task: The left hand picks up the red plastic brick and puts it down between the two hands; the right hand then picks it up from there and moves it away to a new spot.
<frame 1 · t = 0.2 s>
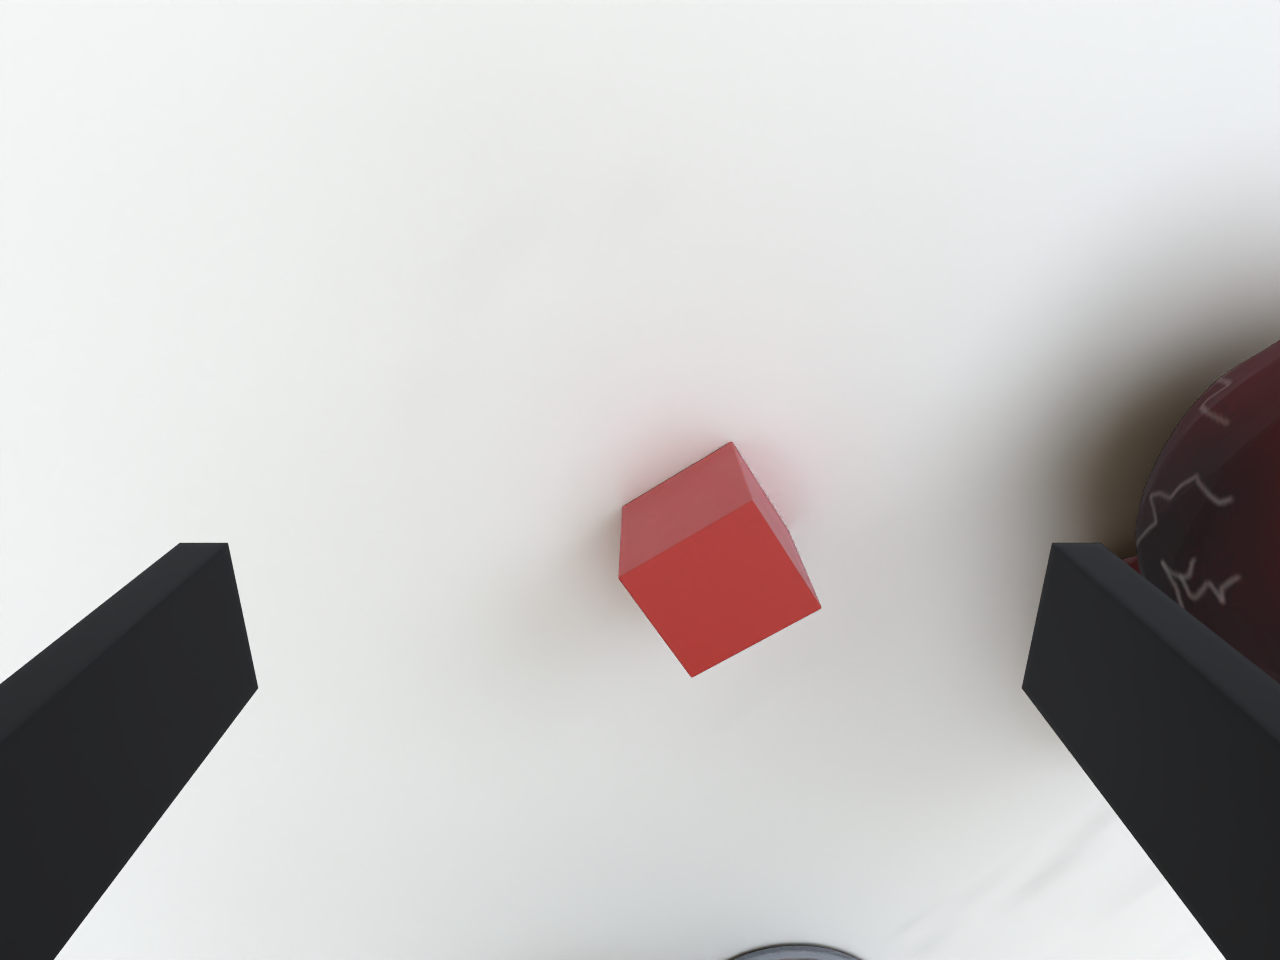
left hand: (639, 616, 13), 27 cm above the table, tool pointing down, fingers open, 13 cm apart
brick: (706, 519, 42), on the table
dark red rounded piece: (1215, 503, 42), on the table
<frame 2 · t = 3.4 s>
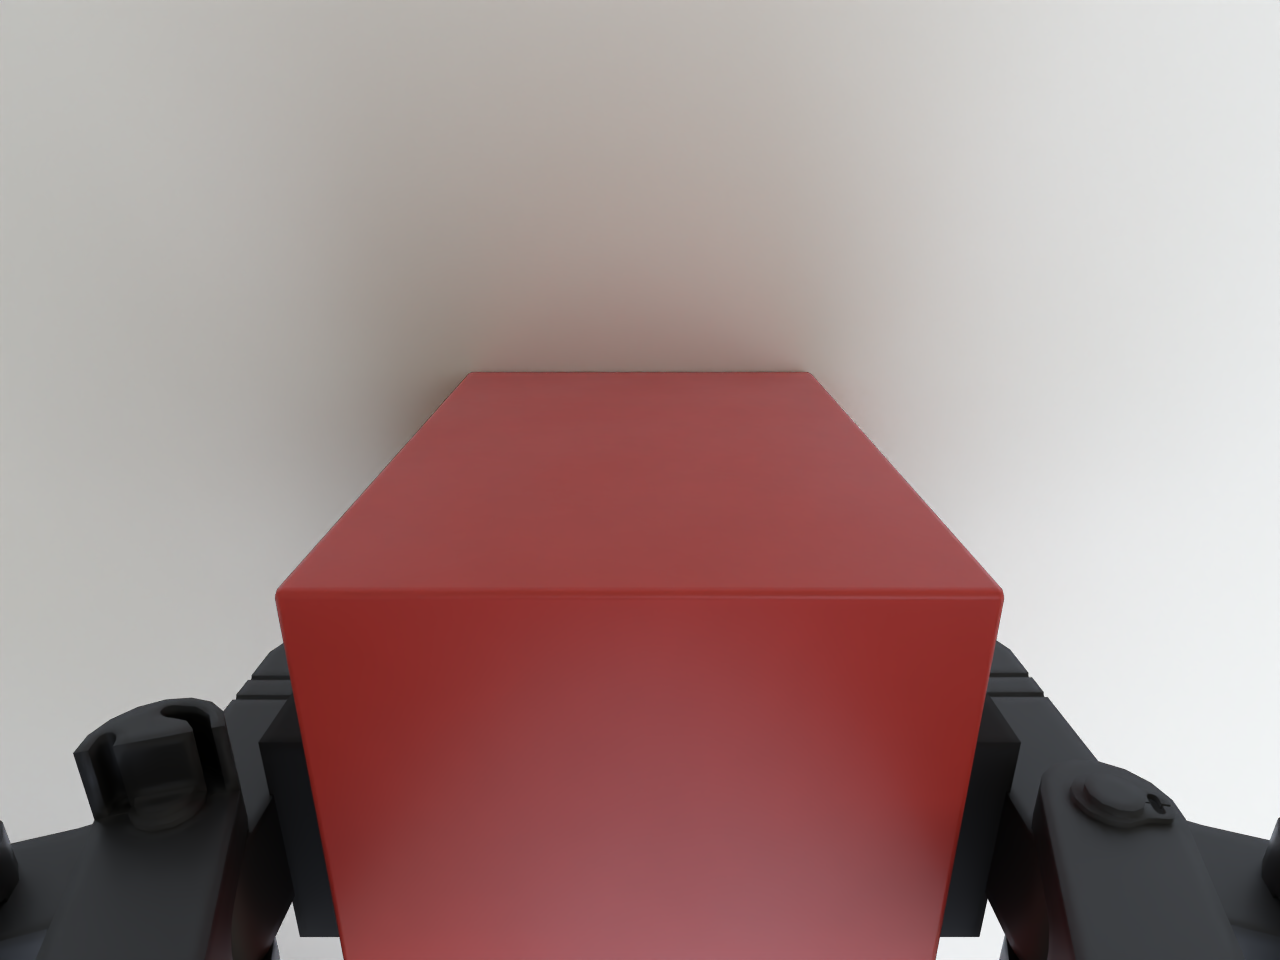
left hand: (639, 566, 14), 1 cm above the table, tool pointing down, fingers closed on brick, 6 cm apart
brick: (639, 542, 15), on the table, touching left hand
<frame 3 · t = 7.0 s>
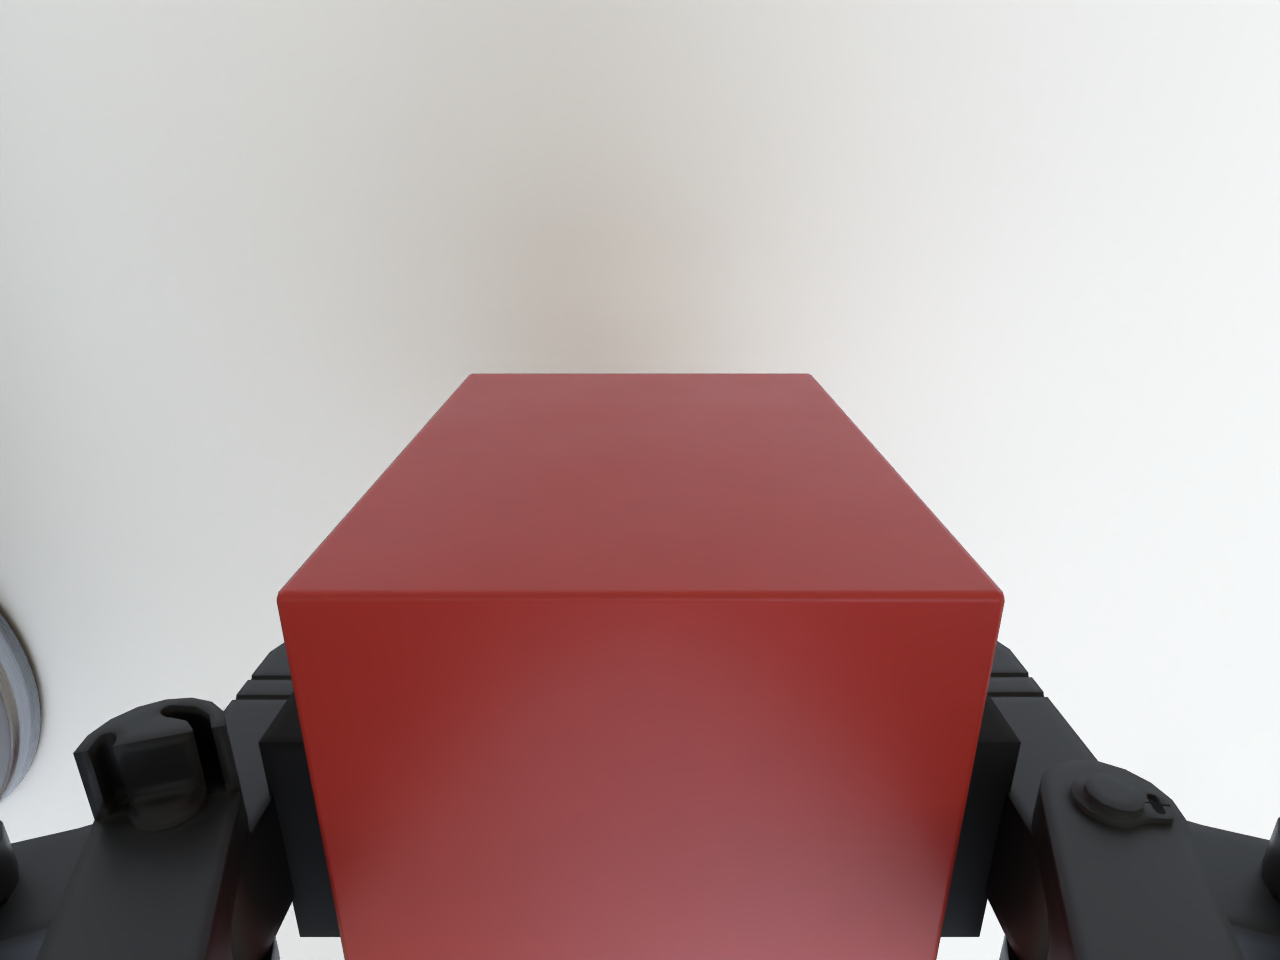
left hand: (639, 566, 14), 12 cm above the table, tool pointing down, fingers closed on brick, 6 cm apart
brick: (640, 543, 15), point 11 cm above the table, touching left hand
when the left hand's fingers open (2 cm above the table, at t = 10.5 s): brick drops 1 cm, on the table.
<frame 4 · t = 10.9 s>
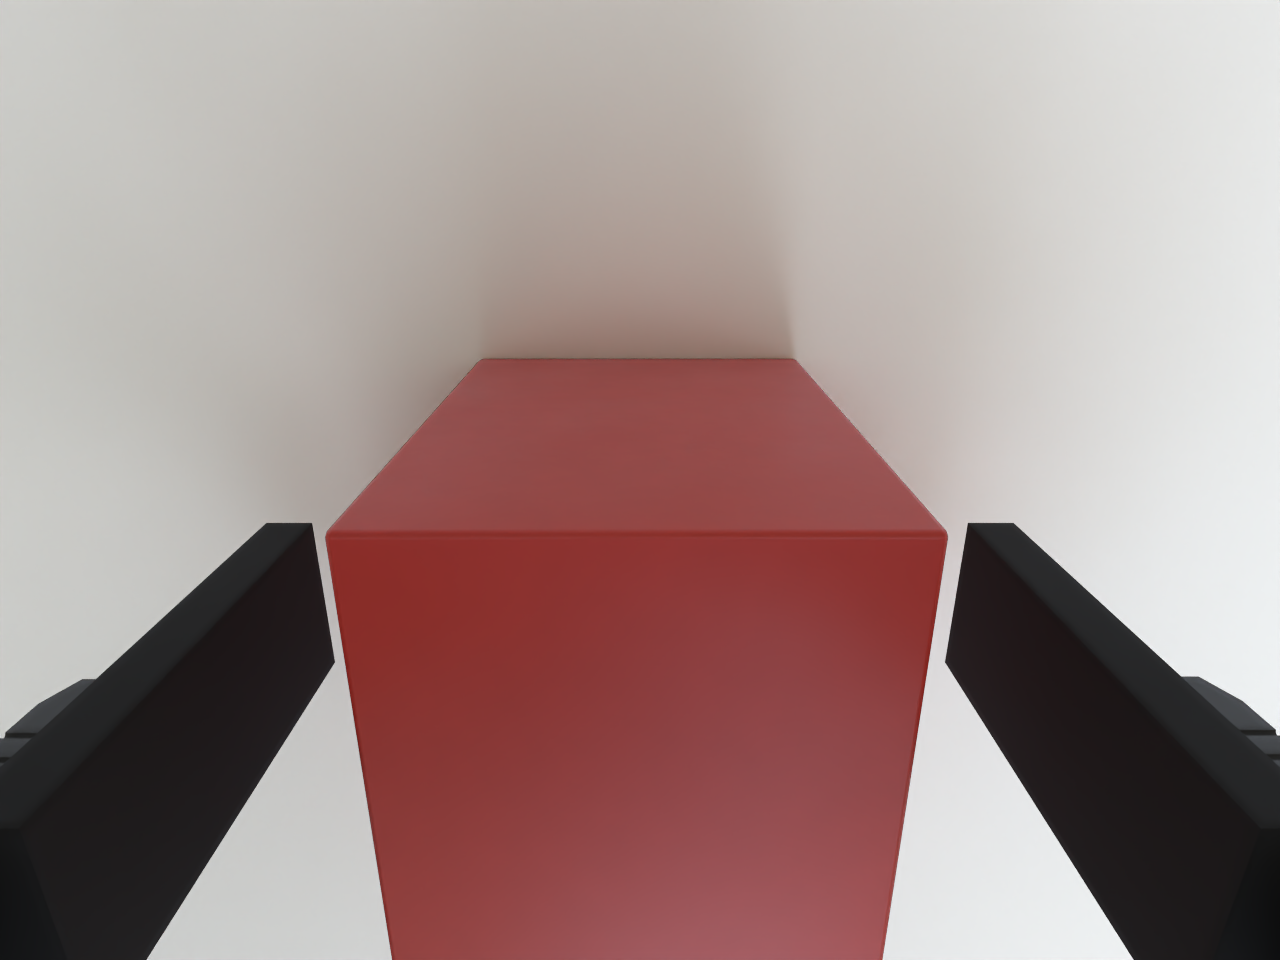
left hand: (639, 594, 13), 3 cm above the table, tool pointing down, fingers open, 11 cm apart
brick: (638, 518, 16), on the table
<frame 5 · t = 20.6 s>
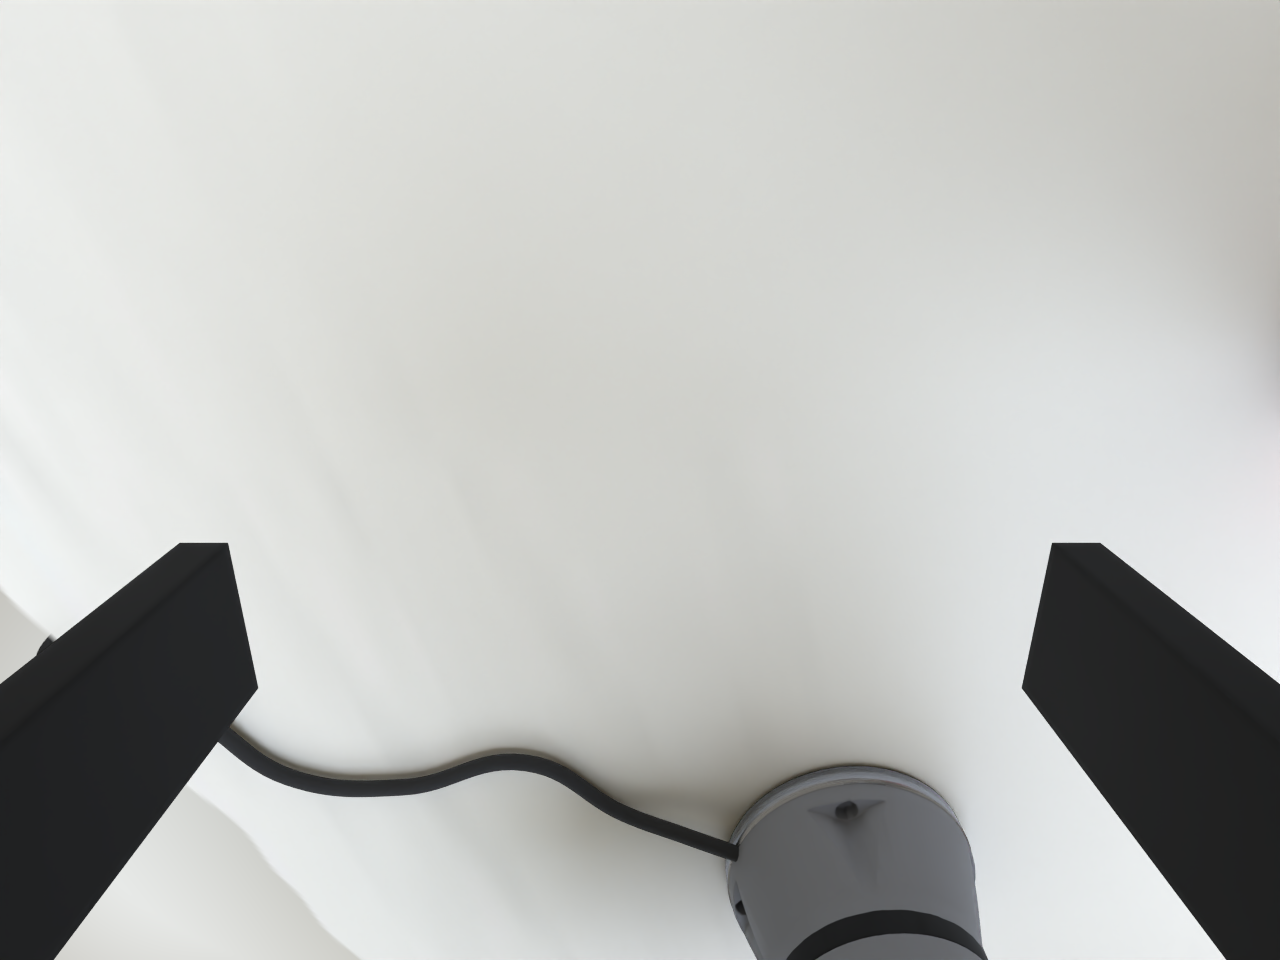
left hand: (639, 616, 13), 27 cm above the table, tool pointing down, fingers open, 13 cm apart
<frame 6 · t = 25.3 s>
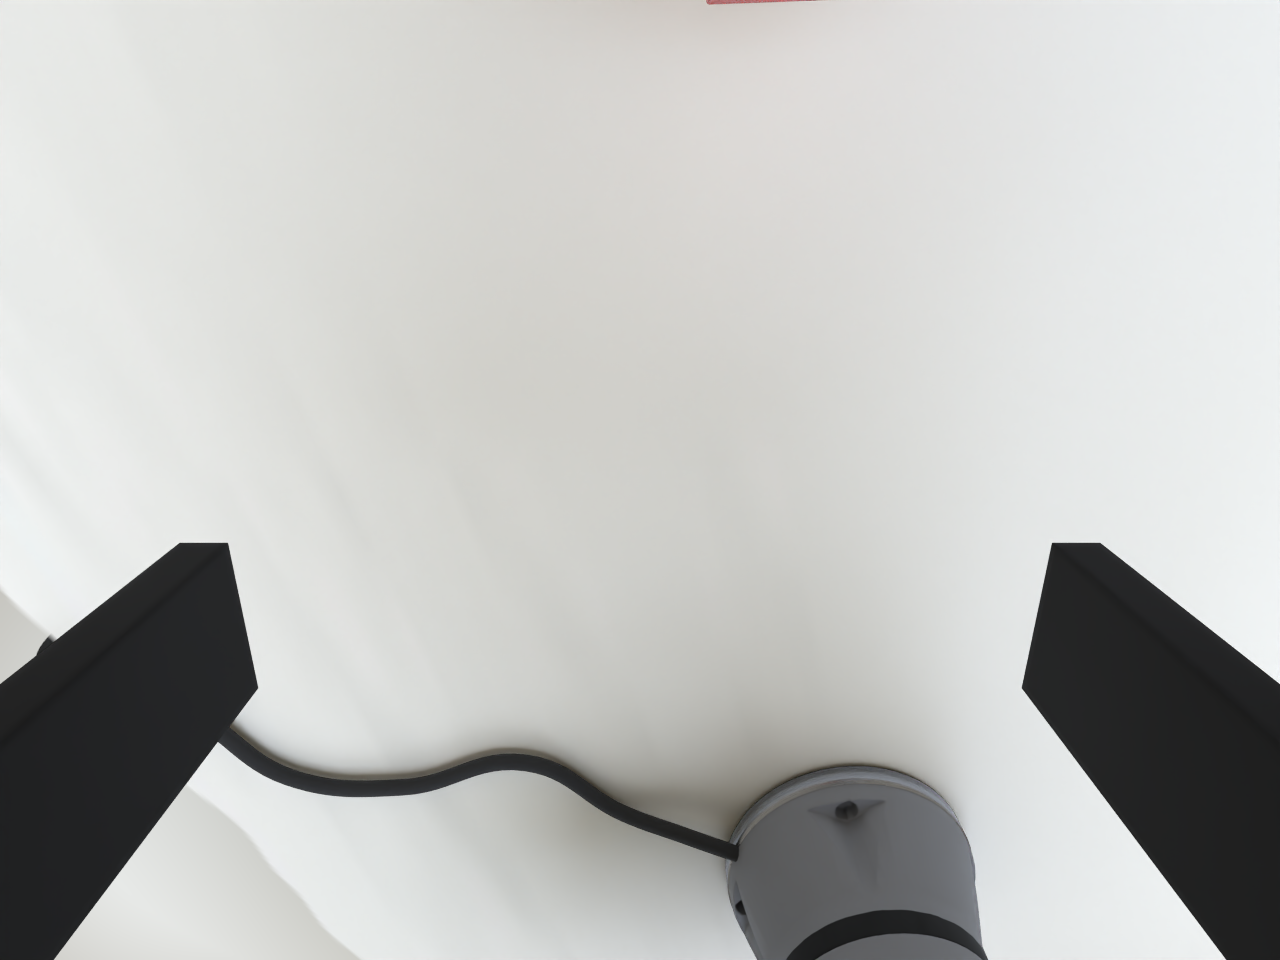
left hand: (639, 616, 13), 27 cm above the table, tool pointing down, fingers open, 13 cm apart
when the right hand's fingers open (2 cm above the table, at t = 29.8 s): brick drops 1 cm, on the table.
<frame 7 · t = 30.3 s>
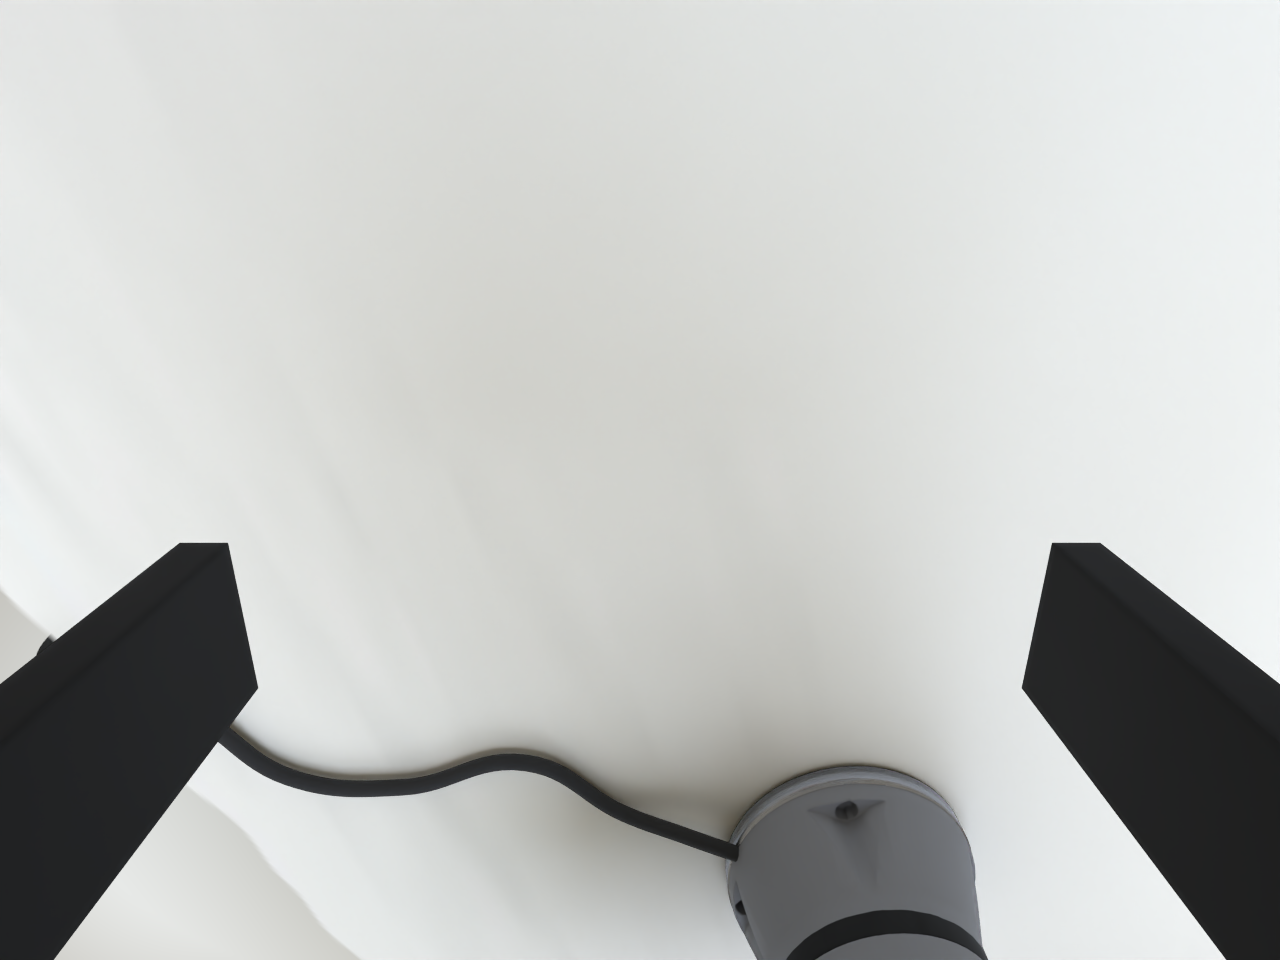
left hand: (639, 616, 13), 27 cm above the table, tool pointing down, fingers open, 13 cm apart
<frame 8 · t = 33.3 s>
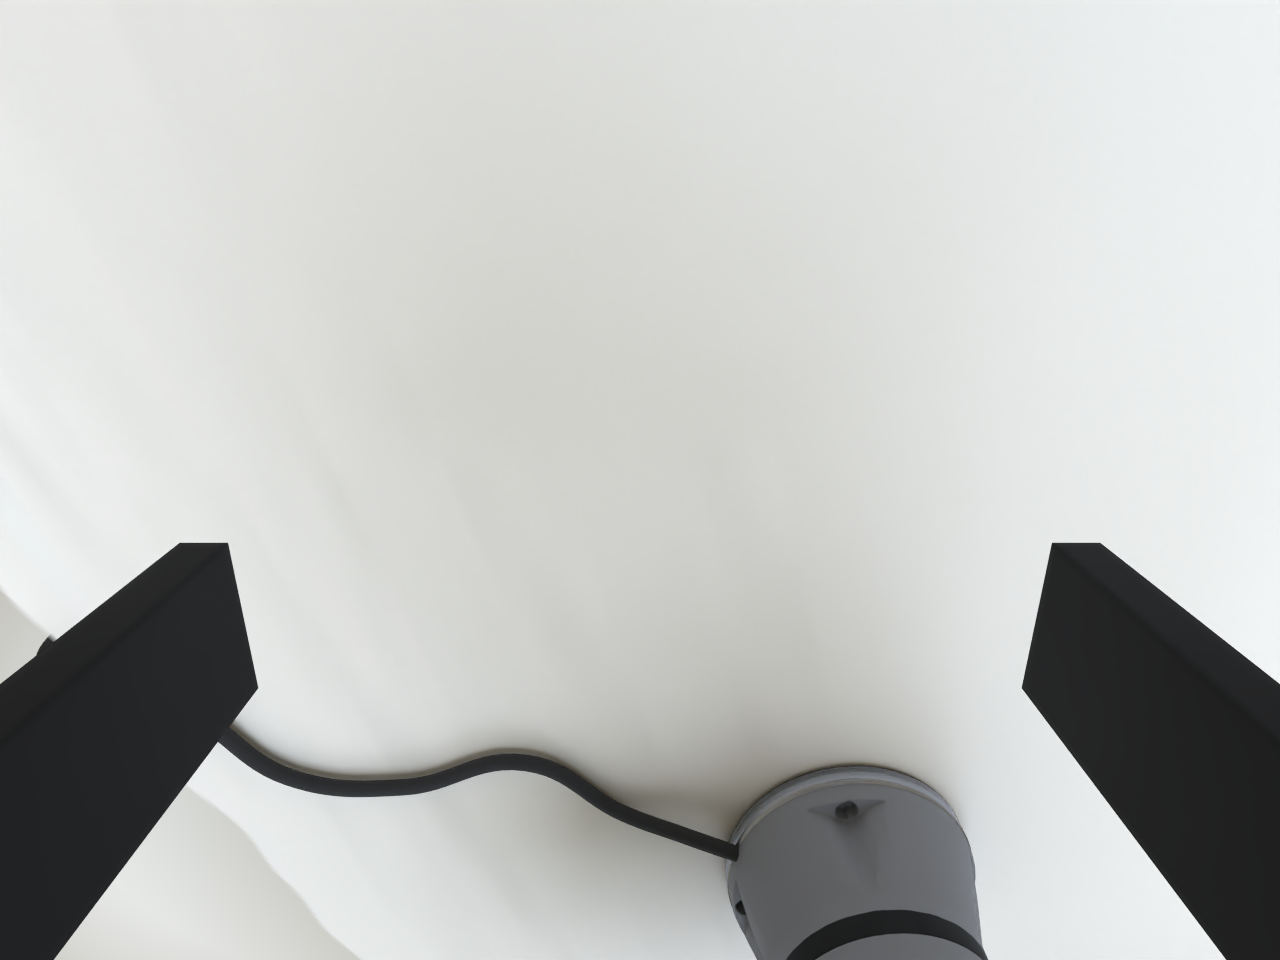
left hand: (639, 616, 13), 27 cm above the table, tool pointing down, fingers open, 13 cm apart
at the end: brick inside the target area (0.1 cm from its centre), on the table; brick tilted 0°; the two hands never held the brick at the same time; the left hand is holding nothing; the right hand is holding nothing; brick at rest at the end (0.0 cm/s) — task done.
